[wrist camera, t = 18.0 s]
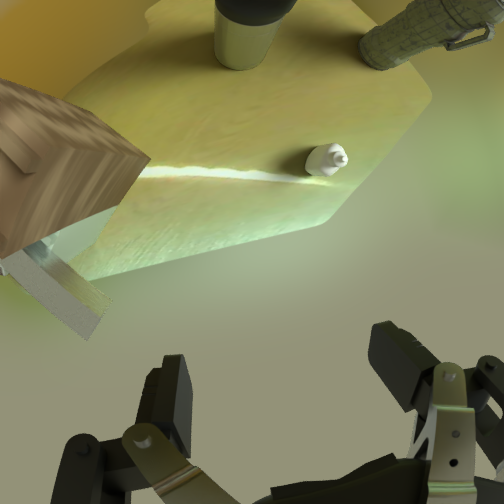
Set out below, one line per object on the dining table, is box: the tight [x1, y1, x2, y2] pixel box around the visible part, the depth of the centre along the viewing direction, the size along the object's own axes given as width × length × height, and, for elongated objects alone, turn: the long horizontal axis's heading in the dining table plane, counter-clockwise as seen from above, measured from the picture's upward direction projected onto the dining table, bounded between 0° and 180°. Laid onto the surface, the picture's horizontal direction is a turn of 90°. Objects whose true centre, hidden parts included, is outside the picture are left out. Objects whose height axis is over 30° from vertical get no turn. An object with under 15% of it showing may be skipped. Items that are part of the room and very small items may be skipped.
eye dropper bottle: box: [305, 143, 348, 177], centre depth 42 cm, size 4×6×12 cm
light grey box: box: [40, 205, 118, 263], centre depth 34 cm, size 16×9×22 cm, turn 50°
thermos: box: [358, 0, 504, 71], centre depth 26 cm, size 9×12×35 cm
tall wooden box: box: [0, 78, 151, 259], centre depth 27 cm, size 16×10×34 cm, turn 50°
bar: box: [0, 240, 112, 341], centre depth 24 cm, size 26×4×4 cm, turn 49°
